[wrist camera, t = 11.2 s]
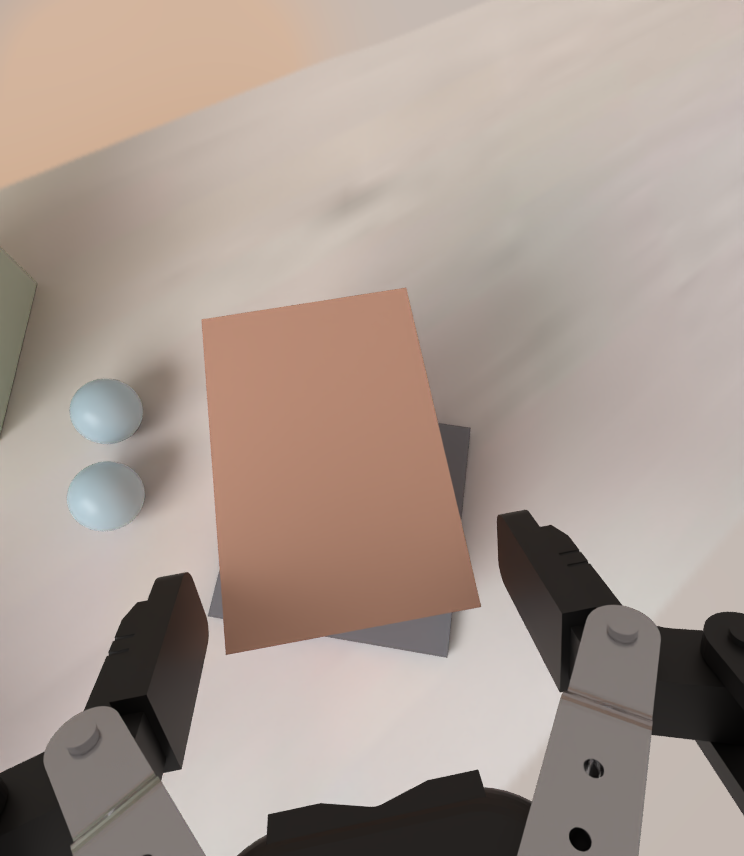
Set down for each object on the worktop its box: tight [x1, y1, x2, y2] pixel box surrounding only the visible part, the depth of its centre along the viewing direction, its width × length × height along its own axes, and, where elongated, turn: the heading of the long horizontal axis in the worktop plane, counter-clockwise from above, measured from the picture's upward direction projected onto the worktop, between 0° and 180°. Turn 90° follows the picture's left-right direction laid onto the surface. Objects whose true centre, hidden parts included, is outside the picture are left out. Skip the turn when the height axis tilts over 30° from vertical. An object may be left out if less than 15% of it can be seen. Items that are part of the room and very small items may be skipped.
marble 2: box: [67, 461, 145, 531], centre depth 23 cm, size 3×3×3 cm
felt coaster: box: [208, 423, 470, 658], centre depth 23 cm, size 10×10×1 cm
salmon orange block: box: [202, 288, 481, 655], centre depth 18 cm, size 9×6×10 cm, turn 10°
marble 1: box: [70, 379, 143, 444], centre depth 24 cm, size 3×3×3 cm
